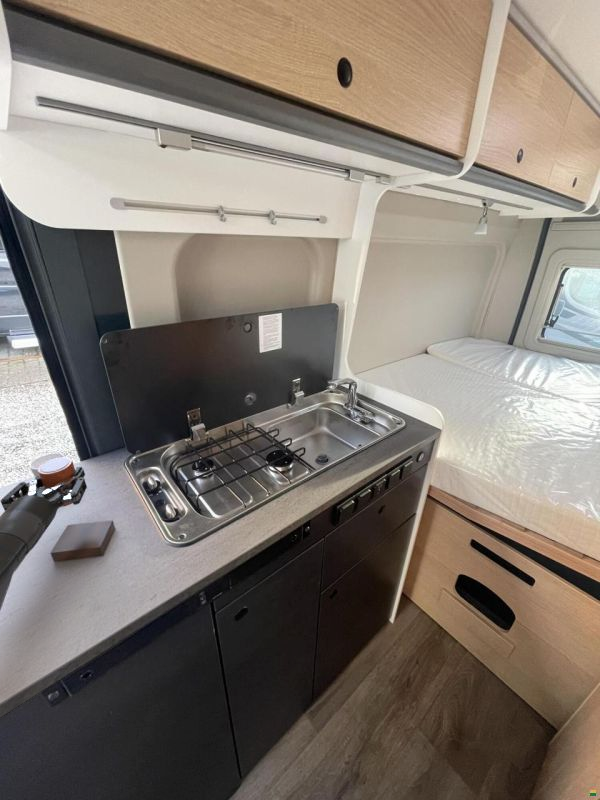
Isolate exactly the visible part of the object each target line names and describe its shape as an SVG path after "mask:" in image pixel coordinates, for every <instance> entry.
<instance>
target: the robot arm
mask: <svg viewBox="0 0 600 800" xmlns="http://www.w3.org/2000/svg"><path fill="white" fill-rule="evenodd" d="M85 476H86V472H85V469H84V468H83V467H82V466H77V467H76V468H75V472H74V473H73V474H72V476H71V478H69V479H68V480H66V481H64V482H63V481H61V482H59V483H58V484H56V485H55V486H53V487H48V488H45V487H43V484H42V482H41V479H40V477H39V475H38V476H37V477H36V478H35V477H34V479H31V480H29V482H27V483H26V481H22V482H20V483H18V484H17V485H16V486H15V487H14V488H12V489H11V490H10V491H9V492H8V493H7V494H6V495H5V496H3V497H2V498H1V499H0V504H1V506H2V508H3V513H1V515H0V611H1V610H2V608H3V605H4V603H5V600H6V597H7V594H8V590H9V588H10V585H11V582H12V578H13V575H14V574H15V573H16V572H17V570H18V569H19V567H20V565H21V564H22V563H23V561H24V560H25V558H26V557H27V556H28V555H29V553H30V552H31V551H32V550H33V549H34V548H35V547H36V545H37V544H38V543H39V541H40V540H41V538H42V537H43V535H44V534H45V532H46V531H47V529H49V526H50V525H51V523H53V520H54V519H55V518H56V515H57V512H58V510H59V509H60V508H62V507H61V506H62V505H63V504H64V503H68V502H73V503H72V504H73V506H76V505H79V504H80V503H81V501H82V499H83V497H84V495H85V492H86V490H87V488H88V486H87V482H86V479H85ZM69 484H72V486H70V487H69ZM40 487H42V488H40ZM60 488H62V491H63V493H62V492H61V490H60Z"/></svg>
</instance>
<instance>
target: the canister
mask: <svg viewBox="0 0 600 800" xmlns="http://www.w3.org/2000/svg"><path fill="white" fill-rule="evenodd" d="M75 470H76V468H75V465H74V462H73V459H72V458H71V457H68V456H64V457H59V458H54V459H51V460H48V461H46V462H44V463H43V464H41V465H40V466H39V467H38V469H37V471H38V474H39V477H40V479H41V482H42V484H43V487H45V488H48V487H53V486H55V485H56V484H58V483H59V482H61V481H63V482H64V481H66V480H68V479H69V478H71V476H72V474H73V473H74V472H75ZM70 486H72V484H69V487H70ZM60 490H61V492H62V493H63V491H62V488H60ZM72 504H73V502H68V503H64V504H63V505H62V506H61V507H60V508H65V507H68V506H70V505H72Z"/></svg>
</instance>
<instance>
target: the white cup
mask: <svg viewBox="0 0 600 800" xmlns="http://www.w3.org/2000/svg"><path fill="white" fill-rule="evenodd" d="M59 457H65V455H64V454H63V453H61V452H51V453H46V454H43V455H40V456H38V457H36V458H34V459H33V460H32V461H31V462H30V463H29V469H30V471H31V473H32V475H33V477H34V479H35V478H36V477H37V476H38V475H39V474H38V471H37V469H38V467H39V466H40V465H41V464H43V463H44V462H46V461H48V460H51V459H54V458H59ZM40 488H42V487H40Z"/></svg>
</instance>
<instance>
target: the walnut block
mask: <svg viewBox="0 0 600 800" xmlns="http://www.w3.org/2000/svg"><path fill="white" fill-rule="evenodd" d="M115 531H116V527H115V522H114V520H104V521H94V522H84V523H75V524H67V526H66V528H65V529H64V530H63V532H62V533H61V535H60V536H59V539H58V540H57V542H56V543H55V545H54V546H53V548H52V550H51V552H50V555H51V558H52V561H53V562H54V563H58V562H65V561H75V560H83V559H91V558H98V557H99V558H100V557H104V555H105V554H106V551H107V549H108V547H109V544H110V542H111V539H112V538H113V535H114V533H115Z"/></svg>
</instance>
